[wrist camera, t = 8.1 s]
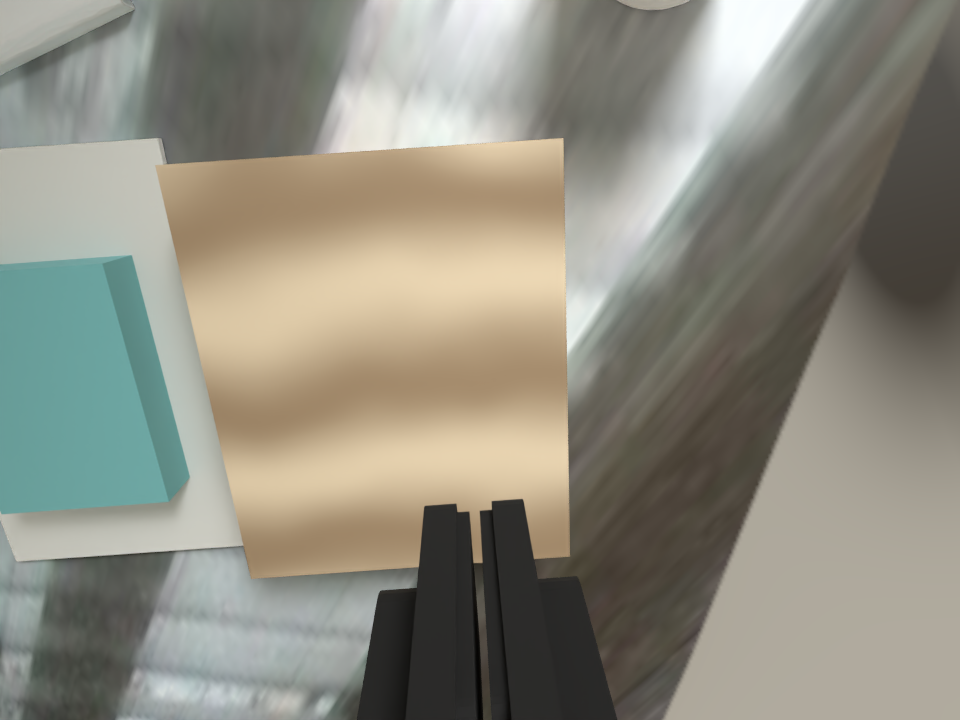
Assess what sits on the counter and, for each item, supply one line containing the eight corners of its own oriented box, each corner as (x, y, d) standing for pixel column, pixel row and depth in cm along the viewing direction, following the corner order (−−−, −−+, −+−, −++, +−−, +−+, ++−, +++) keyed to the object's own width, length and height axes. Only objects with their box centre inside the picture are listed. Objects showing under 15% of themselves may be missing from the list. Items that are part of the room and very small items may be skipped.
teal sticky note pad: (102, 263, 21) (131, 254, 23) (-91, 277, 21) (-46, 267, 23) (169, 501, 25) (190, 477, 26) (1, 514, 25) (34, 488, 26)
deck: (207, 163, 22) (155, 165, 19) (546, 141, 22) (563, 137, 19) (280, 521, 28) (251, 578, 24) (555, 502, 28) (569, 556, 24)
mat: (-133, 157, 22) (-140, 158, 22) (161, 138, 22) (157, 138, 22) (20, 557, 28) (16, 561, 28) (252, 541, 28) (250, 545, 28)
